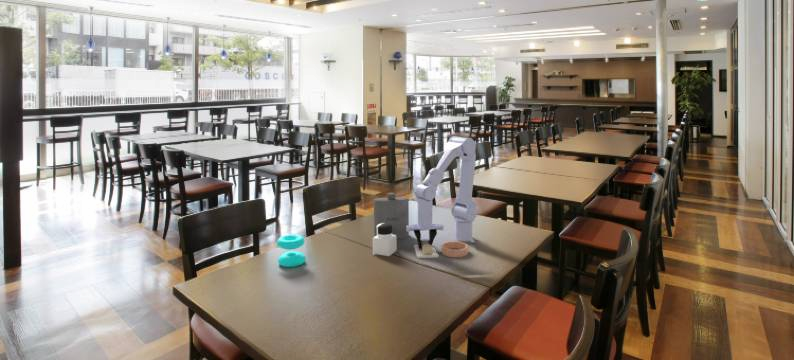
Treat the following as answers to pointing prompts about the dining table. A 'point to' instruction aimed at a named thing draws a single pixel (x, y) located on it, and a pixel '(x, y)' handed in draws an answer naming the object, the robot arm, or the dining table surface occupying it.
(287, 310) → the dining table surface
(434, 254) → the parts tray
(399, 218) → the flask
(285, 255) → the donuts
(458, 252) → the terracotta bowl
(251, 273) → the dining table surface
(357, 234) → the dining table surface
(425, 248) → the sandstone pebble
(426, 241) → the grey rounded short piece
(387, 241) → the medicine bottle
